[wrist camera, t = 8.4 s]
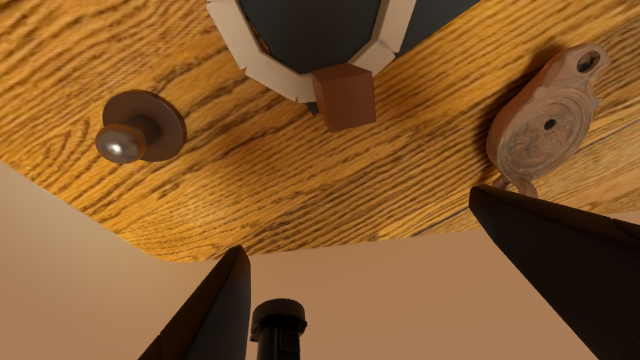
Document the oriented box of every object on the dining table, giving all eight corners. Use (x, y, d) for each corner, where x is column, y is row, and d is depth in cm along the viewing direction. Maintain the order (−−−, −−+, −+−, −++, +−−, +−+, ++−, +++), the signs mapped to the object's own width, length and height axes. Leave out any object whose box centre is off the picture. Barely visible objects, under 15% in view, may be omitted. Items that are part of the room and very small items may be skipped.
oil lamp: (525, 32, 18) (603, 29, 13) (598, 58, 19) (688, 63, 15) (442, 185, 24) (477, 218, 19) (503, 195, 25) (548, 227, 21)
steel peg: (175, 168, 19) (148, 201, 15) (101, 140, 17) (50, 169, 14) (195, 113, 17) (170, 134, 14) (115, 75, 16) (60, 86, 12)
